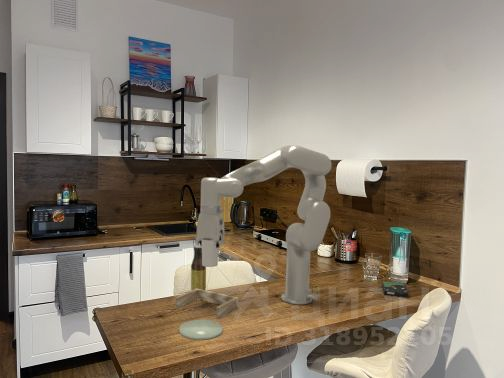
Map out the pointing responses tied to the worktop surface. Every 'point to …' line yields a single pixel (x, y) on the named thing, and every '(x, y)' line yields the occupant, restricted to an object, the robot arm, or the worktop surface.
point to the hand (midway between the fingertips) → (209, 258)
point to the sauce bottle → (198, 270)
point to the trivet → (201, 329)
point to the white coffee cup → (209, 253)
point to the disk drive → (395, 289)
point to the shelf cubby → (223, 300)
